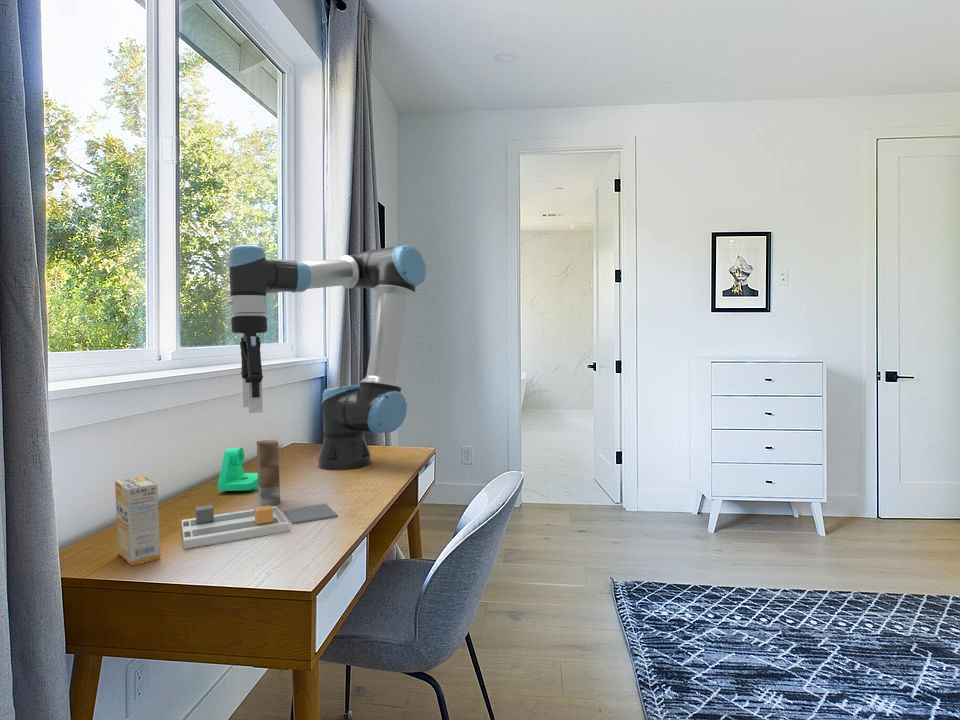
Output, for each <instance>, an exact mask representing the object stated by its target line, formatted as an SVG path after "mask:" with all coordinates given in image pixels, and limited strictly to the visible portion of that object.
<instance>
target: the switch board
mask: <svg viewBox="0 0 960 720" xmlns="http://www.w3.org/2000/svg"><path fill="white" fill-rule="evenodd" d="M271 507H272V508H273V522H269V523H263V524H256V522H255V515H254V508H253V509H252V508H251V509H247V510H240V511H233V512H227V513H226V512H225V513H220V514H214V521H210V522H204V523H197V522H196V517H192V518H187V519H186V518H185V519H181V532H182V541H183V549H184V550H185V549H186V548H187V549H193V548H198V547H197V546H199V547H204V545H205V546H208V545H216V544H217V545H218V544H222V543H227V542H234V541H240V540H244V539H250V538H257V537H262V536H263V537H264V536H268V535H273V534H274V535H275V534H281V533H286V532H289V531H290V523H289V521H288V520H287V519H286V517H285V516H284V514H282V512H281V510H280V509H279V508H278V506H277V505H271ZM192 547H193V548H192Z"/></svg>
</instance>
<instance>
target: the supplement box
mask: <svg viewBox="0 0 960 720" xmlns="http://www.w3.org/2000/svg"><path fill="white" fill-rule="evenodd" d="M114 490H115V491H114V492H115V512H116V513H115V514H116V536H117V537H116V538H117V554H118V555H119V556H120V557H122V558H123V560H125V561H126V562H127V564H129V565H130V566H131V567H133V566H132V565H134V566H136V565H135V564H138V565H140V564H139V563H142V564H144V563H143V562H146V563H148V561H150V562H153V561H152V560H154V561H157V560H160V559H161V545H160V544H161V543H160V542H161V541H160V540H161V539H160V518H159V517H160V516H159V493H158V492H159V491H158V484H157V483H156V482H155V481H152V480H150V479H148V477H147V478H146V477H145V476H144V475H142V476H137V477H129V478H122V479H119V480H118V479H117V480H115V481H114ZM156 559H157V560H156Z"/></svg>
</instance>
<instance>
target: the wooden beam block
mask: <svg viewBox="0 0 960 720" xmlns="http://www.w3.org/2000/svg"><path fill="white" fill-rule="evenodd" d="M279 457H280V456H279V441H278V440H276V439H267V440H257V441H256V459H257V463H256V464H257V473H258V489H257V490H258V491H257V492H258V503H259V505H260V507H262V506H269V505H271V506H276V505H280V504H281V490H280V487H281V486H280V484H281V483H280V463H279V462H280V459H279Z"/></svg>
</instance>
